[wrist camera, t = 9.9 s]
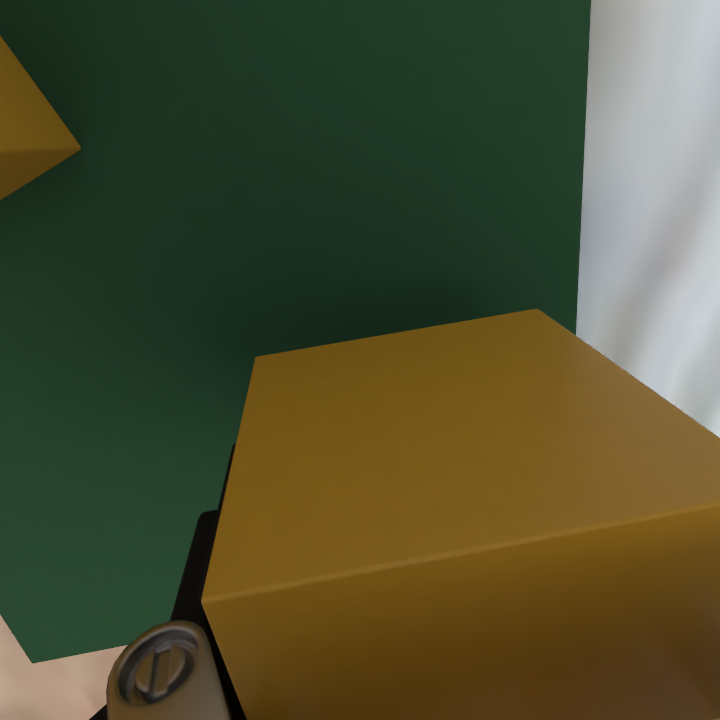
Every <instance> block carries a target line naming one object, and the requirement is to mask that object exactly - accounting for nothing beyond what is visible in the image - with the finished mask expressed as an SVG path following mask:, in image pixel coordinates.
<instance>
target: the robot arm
mask: <svg viewBox="0 0 720 720" xmlns="http://www.w3.org/2000/svg"><path fill="white" fill-rule="evenodd" d="M235 446H236V444H233V446H232V450H231V454H230V458H229V462H228V467H227V471H226V475H225V480H224V484H223V488H222V492H221V497H220V501H219V505H218V509H217V510H212V511H206V512H203V513H202V514H200V516H199V519H198V522H197V525H196V529H195V532H194V536H193V540H192V543H191V547H190V550H189V554H188V558H187V561H186V565H185V568H184V572H183V575H182V579H181V583H180V586H179V590H178V593H177V597H176V601H175V604H174V608H173V611H172V615H171V619H170V621H167V622H165V623H162V624H159V625H157V626H154V627H152V628H150V629H149V630H147V631H146V632H144V633H142V634H141V635H139V636H138V637H137V638H136V639H135V640H134V641H132V642H131V643H130V644H129V645H128V646H127V647H126V648H125V649H124V651H123V652H122V653H121V655H120V656H119V657H118V659H117V660H116V661H115V663H114V665H113V668H112V670H111V672H110V674H109V677H108V683H107V690H106V696H107V704H106V705H105V706H104V707H103V708H102V709H100V710H99V711H98V712H97V713H96V714H95V715H94V716H93V717H92V718H90V719H89V720H247V719H246V717H245V714H244V712H243V709H242V706H241V704H240V701H239V699H238V696H237V694H236V691H235V688H234V686H233V683H232V681H231V678H230V675H229V673H228V670H227V668H226V665H225V663H224V660H223V657H222V655H221V652H220V650H219V647H218V645H217V642H216V639H215V637H214V634H213V632H212V629H211V627H210V624H209V621H208V619H207V616H206V614H205V611H204V609H203V606H202V603H201V599H202V594H203V590H204V585H205V581H206V576H207V572H208V567H209V563H210V558H211V554H212V549H213V545H214V541H215V536H216V532H217V527H218V523H219V518H220V514H221V509H222V505H223V500H224V496H225V491H226V487H227V482H228V478H229V473H230V469H231V464H232V460H233V455H234V451H235ZM714 720H720V718H719V719H714Z"/></svg>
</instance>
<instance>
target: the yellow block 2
mask: <svg viewBox="0 0 720 720" xmlns="http://www.w3.org/2000/svg"><path fill="white" fill-rule="evenodd" d="M201 603H202V606H203V609H204V611H205V614H206V616H207V619H208V621H209V624H210V627H211V629H212V632H213V634H214V637H215V639H216V642H217V645H218V647H219V650H220V652H221V655H222V657H223V660H224V663H225V665H226V668H227V670H228V673H229V675H230V678H231V681H232V683H233V686H234V688H235V691H236V694H237V696H238V699H239V701H240V704H241V706H242V709H243V712H244V714H245V717H246V719H247V720H714V719H719V718H720V438H719V437H718V436H716V435H715V434H714V433H712V432H711V431H709V430H708V429H707V428H705V427H704V426H702V425H701V424H699V423H698V422H697V421H695V420H694V419H692V418H691V417H690V416H688V415H687V414H685V413H684V412H683V411H681V410H680V409H678V408H677V407H676V406H674V405H673V404H671V403H670V402H668V401H667V400H666V399H664V398H663V397H661V396H660V395H659V394H657V393H656V392H654V391H653V390H652V389H650V388H649V387H647V386H646V385H645V384H643V383H642V382H640V381H639V380H637V379H636V378H635V377H633V376H632V375H630V374H629V373H628V372H626V371H625V370H623V369H622V368H621V367H619V366H618V365H616V364H615V363H614V362H612V361H611V360H609V359H608V358H606V357H605V356H604V355H602V354H601V353H599V352H598V351H597V350H595V349H594V348H592V347H591V346H590V345H588V344H587V343H585V342H584V341H583V340H581V339H580V338H578V337H577V336H576V335H574V334H573V333H571V332H570V331H568V330H567V329H566V328H564V327H563V326H561V325H560V324H559V323H557V322H556V321H554V320H553V319H552V318H550V317H549V316H547V315H546V314H545V313H543V312H542V311H540V310H539V309H532V310H526V311H520V312H514V313H508V314H503V315H497V316H491V317H485V318H479V319H473V320H468V321H462V322H456V323H450V324H444V325H438V326H433V327H427V328H421V329H415V330H409V331H403V332H398V333H392V334H386V335H380V336H374V337H368V338H363V339H357V340H351V341H345V342H339V343H333V344H328V345H322V346H316V347H310V348H304V349H298V350H293V351H287V352H281V353H275V354H269V355H263V356H258V357H255V361H254V366H253V370H252V375H251V379H250V384H249V388H248V393H247V397H246V402H245V406H244V411H243V415H242V419H241V424H240V428H239V433H238V437H237V442H236V446H235V451H234V455H233V460H232V464H231V469H230V473H229V478H228V482H227V487H226V491H225V496H224V500H223V505H222V509H221V514H220V518H219V523H218V527H217V532H216V536H215V541H214V545H213V549H212V554H211V558H210V563H209V567H208V572H207V576H206V581H205V585H204V590H203V594H202V599H201Z"/></svg>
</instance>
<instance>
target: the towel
mask: <svg viewBox="0 0 720 720" xmlns="http://www.w3.org/2000/svg"><path fill="white" fill-rule="evenodd" d="M590 9H591V0H0V36H1V37H2V38H3V40H4V41H5V43H6V44H7V45H8V47H9V48H10V50H11V51H12V52H13V54H14V55H15V56H16V58H17V59H18V61H19V62H20V63H21V65H22V66H23V67H24V69H25V70H26V72H27V73H28V74H29V76H30V77H31V78H32V80H33V81H34V83H35V84H36V85H37V87H38V88H39V89H40V91H41V92H42V94H43V95H44V96H45V98H46V99H47V101H48V102H49V103H50V105H51V106H52V107H53V109H54V110H55V112H56V113H57V114H58V116H59V117H60V118H61V120H62V121H63V123H64V124H65V125H66V127H67V128H68V129H69V131H70V132H71V134H72V135H73V136H74V138H75V139H76V140H77V142H78V143H79V145H80V146H81V149H80V151H78V152H76V153H75V154H73V155H72V156H70V157H68V158H67V159H65V160H64V161H62V162H60V163H59V164H57V165H56V166H54V167H52V168H51V169H49V170H48V171H46V172H44V173H43V174H41V175H40V176H38V177H36V178H35V179H33V180H32V181H30V182H28V183H27V184H25V185H24V186H22V187H20V188H19V189H17V190H16V191H14V192H12V193H11V194H9V195H8V196H6V197H4V198H3V199H1V200H0V614H1V616H2V618H3V619H4V621H5V622H6V624H7V625H8V627H9V628H10V630H11V631H12V633H13V635H14V636H15V638H16V639H17V641H18V642H19V644H20V645H21V647H22V649H23V650H24V652H25V653H26V655H27V656H28V658H29V659H30V661H31V662H32V663H37V662H42V661H48V660H53V659H58V658H63V657H68V656H73V655H78V654H83V653H88V652H93V651H98V650H104V649H109V648H114V647H119V646H124V645H129V644H130V643H131V642H132V641H134V640H135V639H136V638H137V637H138V636H139V635H141V634H142V633H144V632H146V631H147V630H149V629H150V628H152V627H154V626H157V625H159V624H162V623H165V622H167V621H170V619H171V615H172V611H173V608H174V604H175V601H176V597H177V593H178V590H179V586H180V583H181V579H182V575H183V572H184V568H185V565H186V561H187V558H188V554H189V550H190V547H191V543H192V540H193V536H194V532H195V529H196V525H197V522H198V519H199V516H200V514H202V513H203V512H206V511H212V510H217V509H218V505H219V501H220V497H221V492H222V488H223V484H224V480H225V475H226V471H227V467H228V462H229V458H230V454H231V450H232V446H233V444H236V442H237V437H238V433H239V428H240V424H241V419H242V415H243V411H244V406H245V402H246V397H247V393H248V388H249V384H250V379H251V375H252V370H253V366H254V361H255V357H258V356H263V355H269V354H275V353H281V352H287V351H293V350H298V349H304V348H310V347H316V346H322V345H328V344H333V343H339V342H345V341H351V340H357V339H363V338H368V337H374V336H380V335H386V334H392V333H398V332H403V331H409V330H415V329H421V328H427V327H433V326H438V325H444V324H450V323H456V322H462V321H468V320H473V319H479V318H485V317H491V316H497V315H503V314H508V313H514V312H520V311H526V310H532V309H539V310H540V311H542V312H543V313H545V314H546V315H547V316H549V317H550V318H552V319H553V320H554V321H556V322H557V323H559V324H560V325H561V326H563V327H564V328H566V329H567V330H568V331H570V332H571V333H573V334H574V335H576V318H577V296H578V274H579V252H580V229H581V207H582V185H583V163H584V141H585V119H586V97H587V75H588V53H589V31H590Z"/></svg>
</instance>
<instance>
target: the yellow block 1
mask: <svg viewBox="0 0 720 720" xmlns="http://www.w3.org/2000/svg"><path fill="white" fill-rule="evenodd" d="M80 149H81V146H80V145H79V143H78V142H77V140H76V139H75V138H74V136H73V135H72V134H71V132H70V131H69V129H68V128H67V127H66V125H65V124H64V123H63V121H62V120H61V118H60V117H59V116H58V114H57V113H56V112H55V110H54V109H53V107H52V106H51V105H50V103H49V102H48V101H47V99H46V98H45V96H44V95H43V94H42V92H41V91H40V89H39V88H38V87H37V85H36V84H35V83H34V81H33V80H32V78H31V77H30V76H29V74H28V73H27V72H26V70H25V69H24V67H23V66H22V65H21V63H20V62H19V61H18V59H17V58H16V56H15V55H14V54H13V52H12V51H11V50H10V48H9V47H8V45H7V44H6V43H5V41H4V40H3V38H2V37H1V36H0V200H1V199H3V198H4V197H6V196H8V195H9V194H11V193H12V192H14V191H16V190H17V189H19V188H20V187H22V186H24V185H25V184H27V183H28V182H30V181H32V180H33V179H35V178H36V177H38V176H40V175H41V174H43V173H44V172H46V171H48V170H49V169H51V168H52V167H54V166H56V165H57V164H59V163H60V162H62V161H64V160H65V159H67V158H68V157H70V156H72V155H73V154H75V153H76V152H78V151H80Z"/></svg>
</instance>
